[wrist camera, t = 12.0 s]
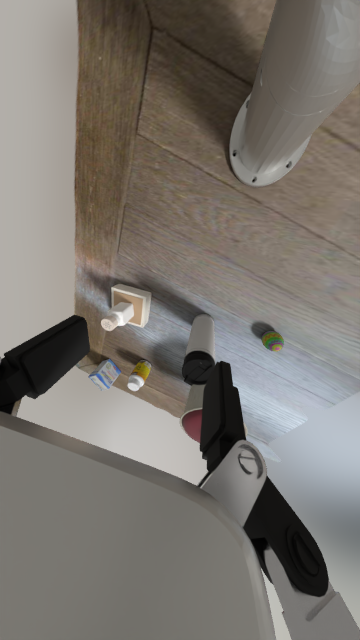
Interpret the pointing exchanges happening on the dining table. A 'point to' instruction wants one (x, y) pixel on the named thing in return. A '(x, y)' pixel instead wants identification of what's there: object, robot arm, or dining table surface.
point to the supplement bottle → (139, 375)
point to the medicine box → (105, 374)
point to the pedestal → (133, 302)
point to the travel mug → (200, 351)
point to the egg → (272, 341)
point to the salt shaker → (118, 316)
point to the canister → (194, 413)
